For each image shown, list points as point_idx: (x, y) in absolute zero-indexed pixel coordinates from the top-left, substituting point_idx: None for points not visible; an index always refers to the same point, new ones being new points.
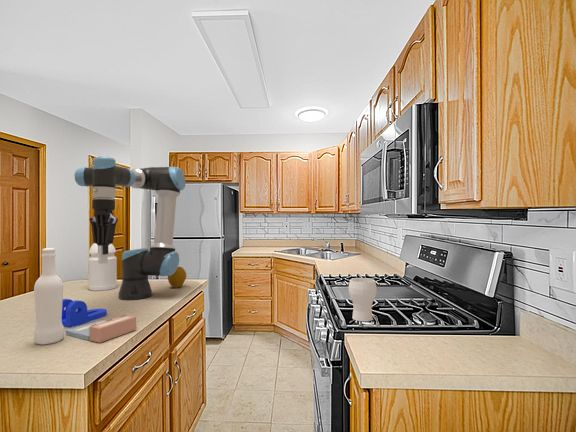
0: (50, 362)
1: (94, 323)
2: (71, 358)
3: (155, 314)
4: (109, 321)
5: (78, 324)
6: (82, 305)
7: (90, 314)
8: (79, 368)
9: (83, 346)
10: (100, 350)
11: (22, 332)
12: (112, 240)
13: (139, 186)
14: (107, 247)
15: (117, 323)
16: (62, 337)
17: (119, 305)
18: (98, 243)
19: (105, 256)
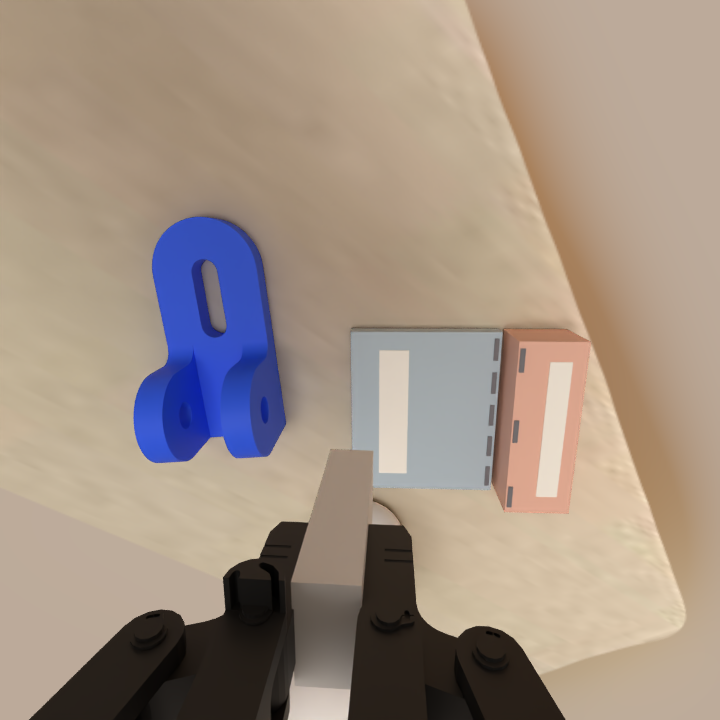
0: (539, 621)
1: (371, 387)
2: (571, 586)
3: (466, 95)
4: (527, 438)
5: (279, 389)
6: (256, 397)
7: (239, 319)
8: (655, 616)
9: (518, 518)
10: (603, 518)
11: (189, 521)
12: (546, 705)
13: None
14: (414, 604)
15: (577, 437)
16: (395, 517)
17: (125, 59)
18: (276, 717)
19: (370, 515)
